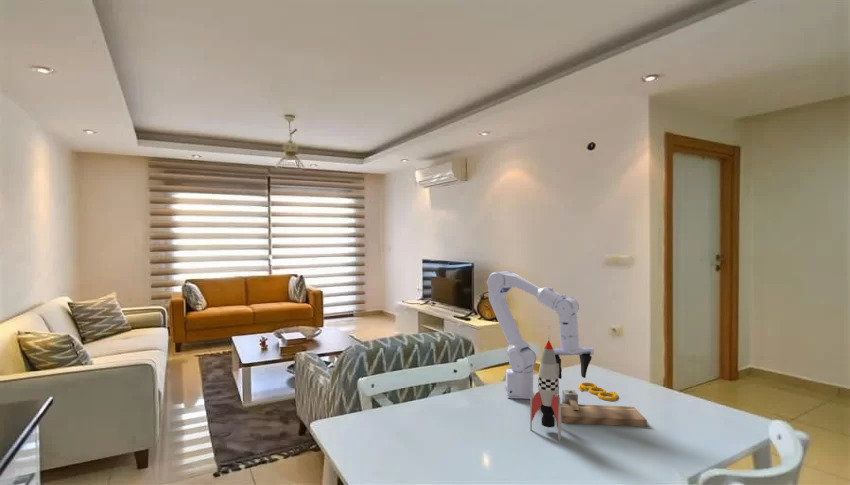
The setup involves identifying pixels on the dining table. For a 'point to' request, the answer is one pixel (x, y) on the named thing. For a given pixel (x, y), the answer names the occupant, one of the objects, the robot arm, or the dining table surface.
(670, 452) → the dining table surface
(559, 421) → the toy
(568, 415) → the board
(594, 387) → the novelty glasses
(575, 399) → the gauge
